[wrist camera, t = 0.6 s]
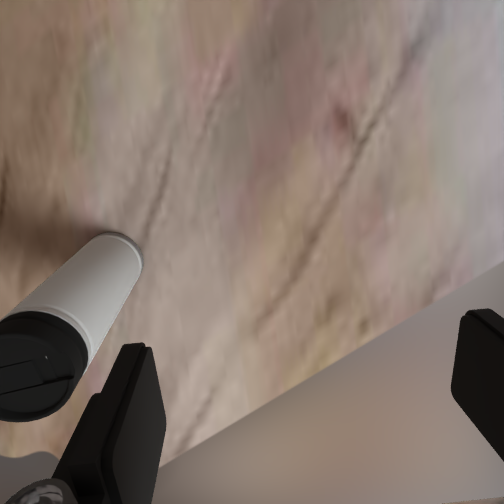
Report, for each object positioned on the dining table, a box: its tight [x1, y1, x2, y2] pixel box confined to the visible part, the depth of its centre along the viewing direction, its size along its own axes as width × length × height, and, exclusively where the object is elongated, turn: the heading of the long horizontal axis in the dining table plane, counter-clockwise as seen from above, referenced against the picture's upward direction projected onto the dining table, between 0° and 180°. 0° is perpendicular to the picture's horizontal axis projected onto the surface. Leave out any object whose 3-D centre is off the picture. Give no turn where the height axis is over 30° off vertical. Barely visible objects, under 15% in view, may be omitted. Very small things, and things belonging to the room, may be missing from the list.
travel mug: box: [0, 232, 143, 422], centre depth 30 cm, size 6×7×20 cm
